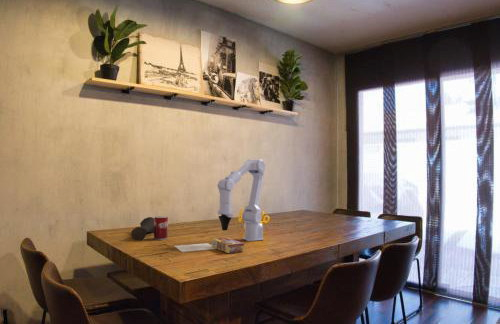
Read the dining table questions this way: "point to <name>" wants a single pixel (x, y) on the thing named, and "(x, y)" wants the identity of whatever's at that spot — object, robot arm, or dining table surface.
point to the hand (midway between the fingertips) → (224, 230)
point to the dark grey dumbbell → (143, 229)
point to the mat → (194, 247)
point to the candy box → (228, 245)
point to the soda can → (160, 227)
